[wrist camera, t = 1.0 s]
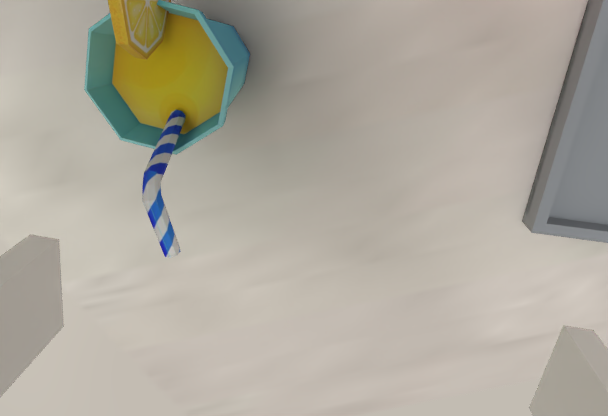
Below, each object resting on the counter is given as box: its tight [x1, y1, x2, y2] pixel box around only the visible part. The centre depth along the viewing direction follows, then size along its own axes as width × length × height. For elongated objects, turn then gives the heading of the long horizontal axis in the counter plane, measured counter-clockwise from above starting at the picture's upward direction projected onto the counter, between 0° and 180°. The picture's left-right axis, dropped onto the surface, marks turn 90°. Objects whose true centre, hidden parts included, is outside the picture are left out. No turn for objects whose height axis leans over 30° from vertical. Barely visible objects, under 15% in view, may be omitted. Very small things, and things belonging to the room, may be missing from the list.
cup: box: [84, 0, 250, 258], centre depth 28 cm, size 14×8×15 cm, turn 9°
